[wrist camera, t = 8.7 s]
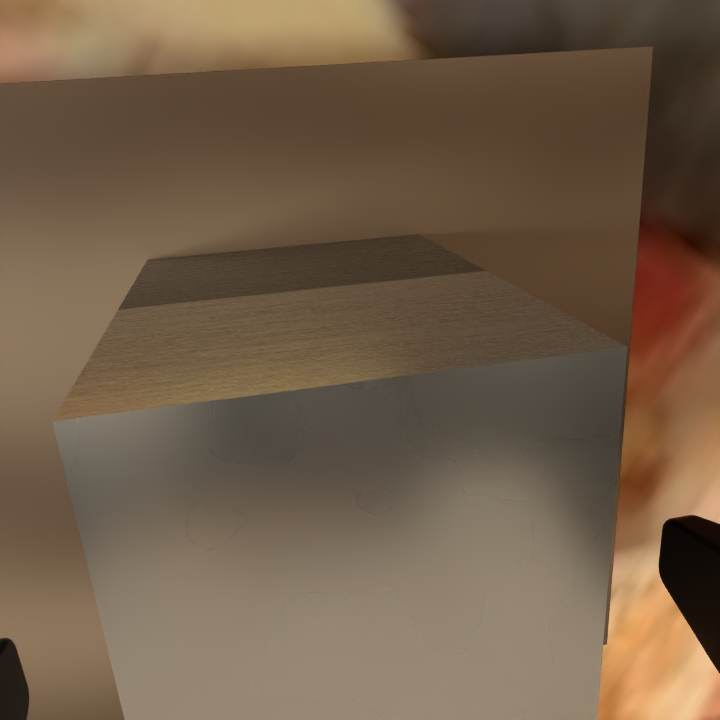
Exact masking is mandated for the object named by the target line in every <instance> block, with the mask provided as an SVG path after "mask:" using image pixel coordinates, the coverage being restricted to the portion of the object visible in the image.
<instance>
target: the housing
mask: <svg viewBox="0 0 720 720" xmlns="http://www.w3.org/2000/svg"><path fill="white" fill-rule="evenodd" d="M626 358H627V347H626V346H625V345H623V344H621V343H619V342H617V341H615V340H614V339H612V338H610V337H608V336H606V335H604V334H602V333H601V332H599V331H597V330H595V329H593V328H591V327H590V326H588V325H586V324H584V323H582V322H580V321H578V320H577V319H575V318H573V317H571V316H569V315H567V314H566V313H564V312H562V311H560V310H558V309H556V308H554V307H553V306H551V305H549V304H547V303H545V302H543V301H542V300H540V299H538V298H536V297H534V296H532V295H531V294H529V293H527V292H525V291H523V290H521V289H519V288H518V287H516V286H514V285H512V284H510V283H508V282H507V281H505V280H503V279H501V278H499V277H497V276H495V275H494V274H492V273H490V272H488V271H486V270H484V269H483V268H481V267H479V266H477V265H475V264H473V263H471V262H470V261H468V260H466V259H464V258H462V257H460V256H459V255H457V254H455V253H453V252H451V251H449V250H447V249H446V248H444V247H442V246H440V245H438V244H436V243H435V242H433V241H431V240H429V239H427V238H425V237H423V236H422V235H420V234H414V235H404V236H393V237H382V238H372V239H361V240H351V241H340V242H330V243H319V244H308V245H298V246H287V247H277V248H266V249H255V250H245V251H234V252H224V253H213V254H202V255H192V256H181V257H171V258H160V259H150V260H147V261H146V263H145V265H144V266H143V268H142V270H141V271H140V273H139V275H138V277H137V278H136V280H135V282H134V283H133V285H132V287H131V288H130V290H129V292H128V293H127V295H126V297H125V299H124V300H123V302H122V304H121V305H120V307H119V309H118V310H117V312H116V314H115V316H114V317H113V319H112V321H111V322H110V324H109V326H108V327H107V329H106V331H105V332H104V334H103V336H102V338H101V339H100V341H99V343H98V344H97V346H96V348H95V349H94V351H93V353H92V355H91V356H90V358H89V360H88V361H87V363H86V365H85V366H84V368H83V370H82V371H81V373H80V375H79V377H78V378H77V380H76V382H75V383H74V385H73V387H72V388H71V390H70V392H69V394H68V395H67V397H66V399H65V400H64V402H63V404H62V405H61V407H60V409H59V410H58V412H57V414H56V416H55V417H54V419H53V421H52V423H53V427H54V431H55V435H56V439H57V443H58V448H59V452H60V456H61V460H62V464H63V468H64V472H65V476H66V481H67V485H68V489H69V493H70V497H71V501H72V505H73V509H74V513H75V518H76V522H77V526H78V530H79V534H80V538H81V542H82V546H83V551H84V555H85V559H86V563H87V567H88V571H89V575H90V579H91V583H92V588H93V592H94V596H95V600H96V604H97V608H98V612H99V616H100V621H101V625H102V629H103V633H104V637H105V641H106V645H107V649H108V654H109V658H110V662H111V666H112V670H113V674H114V678H115V682H116V686H117V691H118V695H119V699H120V703H121V707H122V711H123V715H124V719H125V720H597V714H598V701H599V689H600V677H601V665H602V652H603V640H604V628H605V615H606V603H607V591H608V579H609V566H610V554H611V542H612V529H613V517H614V505H615V493H616V480H617V468H618V456H619V444H620V431H621V419H622V407H623V394H624V382H625V370H626Z"/></svg>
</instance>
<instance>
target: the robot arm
mask: <svg viewBox="0 0 720 720" xmlns="http://www.w3.org/2000/svg"><path fill="white" fill-rule="evenodd" d="M659 573H660V577H661V579H662V582H663V584H664V585H665V587H666V589H667V590H668V592H669V593H670V595H671V597H672V598H673V600H674V602H675V603H676V605H677V606H678V608H679V610H680V611H681V613H682V614H683V616H684V618H685V619H686V621H687V622H688V624H689V626H690V627H691V629H692V631H693V632H694V634H695V635H696V637H697V639H698V640H699V642H700V643H701V645H702V647H703V648H704V650H705V651H706V653H707V655H708V656H709V658H710V660H711V661H712V663H713V664H714V666H715V667H716V669H717V670H718V672H719V673H720V524H718V523H715V522H713V521H710V520H707V519H704V518H701V517H698V516H695V515H688V516H682V517H677V518H671V519H669V520H667V521H666V522H665V523H664V525H663V529H662V538H661V547H660V557H659ZM28 709H29V688H28V684H27V681H26V678H25V674H24V671H23V668H22V665H21V661H20V658H19V655H18V652H17V648H16V646H15V644H14V642H13V641H12V640H11V639H9V638H0V720H27V715H28Z"/></svg>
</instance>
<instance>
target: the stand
mask: <svg viewBox="0 0 720 720" xmlns="http://www.w3.org/2000/svg"><path fill="white" fill-rule="evenodd" d="M652 56H653V46H651V47H633V48H616V49H598V50H581V51H564V52H546V53H529V54H511V55H494V56H476V57H459V58H441V59H424V60H406V61H389V62H371V63H354V64H337V65H319V66H302V67H284V68H267V69H249V70H232V71H214V72H197V73H179V74H162V75H144V76H127V77H110V78H92V79H75V80H57V81H40V82H22V83H5V84H0V638H9V639H11V640H12V641H13V642H14V644H15V646H16V648H17V652H18V655H19V658H20V661H21V665H22V668H23V671H24V674H25V678H26V681H27V684H28V688H29V709H28V715H27V720H125V719H124V715H123V711H122V707H121V703H120V699H119V695H118V691H117V686H116V682H115V678H114V674H113V670H112V666H111V662H110V658H109V654H108V649H107V645H106V641H105V637H104V633H103V629H102V625H101V621H100V616H99V612H98V608H97V604H96V600H95V596H94V592H93V588H92V583H91V579H90V575H89V571H88V567H87V563H86V559H85V555H84V551H83V546H82V542H81V538H80V534H79V530H78V526H77V522H76V518H75V513H74V509H73V505H72V501H71V497H70V493H69V489H68V485H67V481H66V476H65V472H64V468H63V464H62V460H61V456H60V452H59V448H58V443H57V439H56V435H55V431H54V427H53V423H52V421H53V419H54V417H55V416H56V414H57V412H58V410H59V409H60V407H61V405H62V404H63V402H64V400H65V399H66V397H67V395H68V394H69V392H70V390H71V388H72V387H73V385H74V383H75V382H76V380H77V378H78V377H79V375H80V373H81V371H82V370H83V368H84V366H85V365H86V363H87V361H88V360H89V358H90V356H91V355H92V353H93V351H94V349H95V348H96V346H97V344H98V343H99V341H100V339H101V338H102V336H103V334H104V332H105V331H106V329H107V327H108V326H109V324H110V322H111V321H112V319H113V317H114V316H115V314H116V312H117V310H118V309H119V307H120V305H121V304H122V302H123V300H124V299H125V297H126V295H127V293H128V292H129V290H130V288H131V287H132V285H133V283H134V282H135V280H136V278H137V277H138V275H139V273H140V271H141V270H142V268H143V266H144V265H145V263H146V261H147V260H150V259H160V258H171V257H181V256H192V255H202V254H213V253H224V252H234V251H245V250H255V249H266V248H277V247H287V246H298V245H308V244H319V243H330V242H340V241H351V240H361V239H372V238H382V237H393V236H404V235H414V234H420V235H422V236H423V237H425V238H427V239H429V240H431V241H433V242H435V243H436V244H438V245H440V246H442V247H444V248H446V249H447V250H449V251H451V252H453V253H455V254H457V255H459V256H460V257H462V258H464V259H466V260H468V261H470V262H471V263H473V264H475V265H477V266H479V267H481V268H483V269H484V270H486V271H488V272H490V273H492V274H494V275H495V276H497V277H499V278H501V279H503V280H505V281H507V282H508V283H510V284H512V285H514V286H516V287H518V288H519V289H521V290H523V291H525V292H527V293H529V294H531V295H532V296H534V297H536V298H538V299H540V300H542V301H543V302H545V303H547V304H549V305H551V306H553V307H554V308H556V309H558V310H560V311H562V312H564V313H566V314H567V315H569V316H571V317H573V318H575V319H577V320H578V321H580V322H582V323H584V324H586V325H588V326H590V327H591V328H593V329H595V330H597V331H599V332H601V333H602V334H604V335H606V336H608V337H610V338H612V339H614V340H615V341H617V342H619V343H621V344H623V345H625V346H626V347H627V358H626V370H625V382H624V394H623V407H622V419H621V431H620V444H619V456H618V468H617V480H616V493H615V505H614V517H613V529H612V542H611V554H610V566H609V579H608V591H607V603H606V615H605V628H604V640H603V645H605V644H607V636H608V623H609V610H610V597H611V584H612V571H613V558H614V545H615V533H616V520H617V507H618V494H619V481H620V468H621V455H622V442H623V430H624V417H625V404H626V391H627V378H628V365H629V352H630V339H631V327H632V314H633V301H634V288H635V275H636V262H637V249H638V237H639V224H640V211H641V198H642V185H643V172H644V159H645V146H646V134H647V121H648V108H649V95H650V82H651V69H652Z"/></svg>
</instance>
